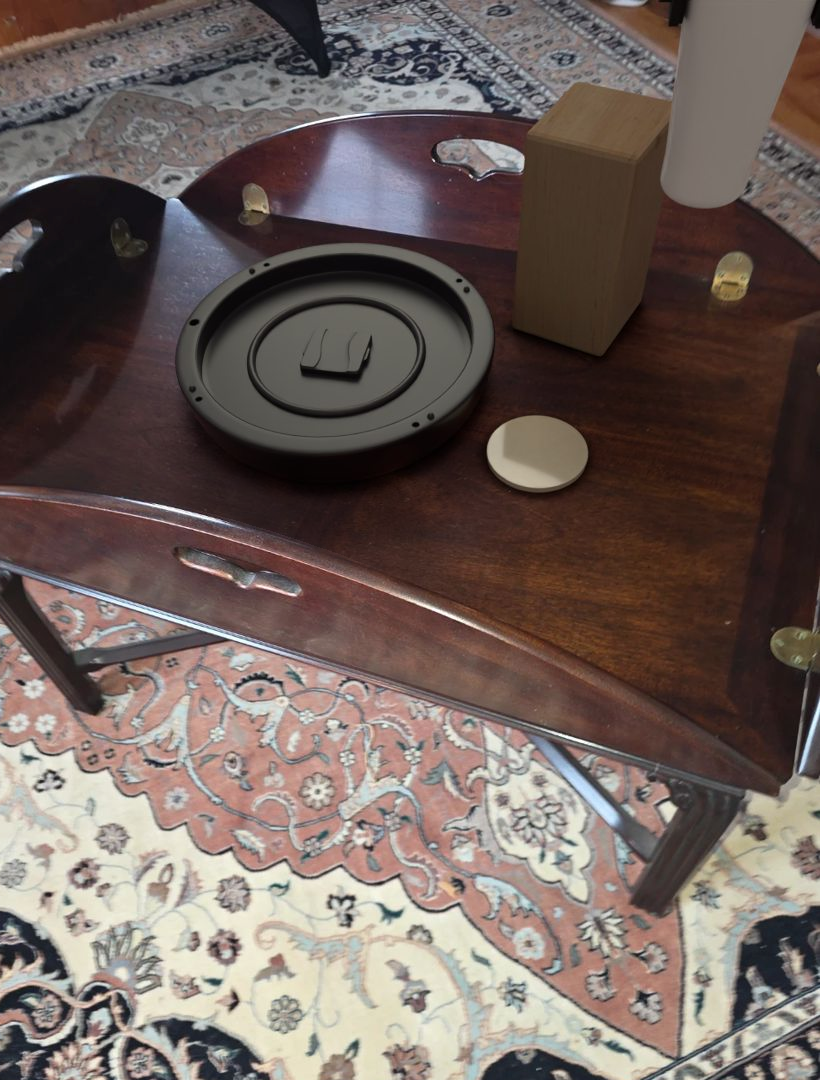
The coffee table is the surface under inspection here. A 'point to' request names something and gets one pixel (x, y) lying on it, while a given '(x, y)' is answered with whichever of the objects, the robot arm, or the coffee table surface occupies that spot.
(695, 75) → the drinking glass
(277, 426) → the round tray
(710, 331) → the coffee table surface
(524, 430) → the coaster
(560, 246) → the wooden block
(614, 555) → the coffee table surface
